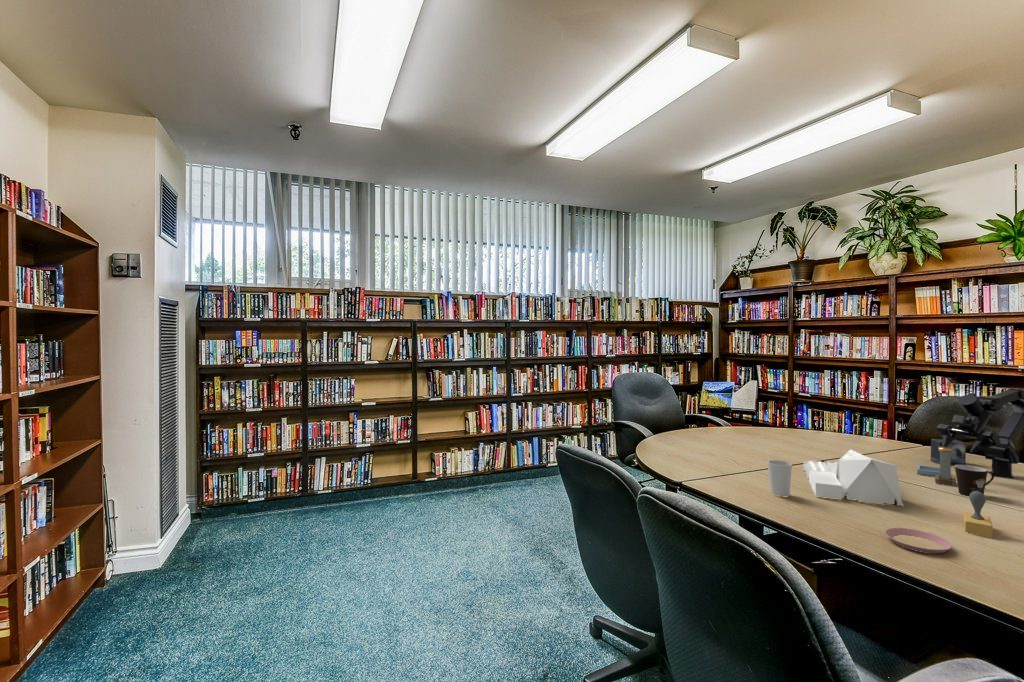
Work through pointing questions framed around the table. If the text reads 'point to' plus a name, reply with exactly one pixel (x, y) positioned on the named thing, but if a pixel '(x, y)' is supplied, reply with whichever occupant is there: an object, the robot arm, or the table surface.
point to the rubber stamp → (977, 517)
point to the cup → (779, 477)
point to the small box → (956, 455)
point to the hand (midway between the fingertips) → (956, 450)
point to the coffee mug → (971, 479)
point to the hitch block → (945, 481)
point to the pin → (945, 462)
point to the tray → (928, 470)
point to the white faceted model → (855, 479)
